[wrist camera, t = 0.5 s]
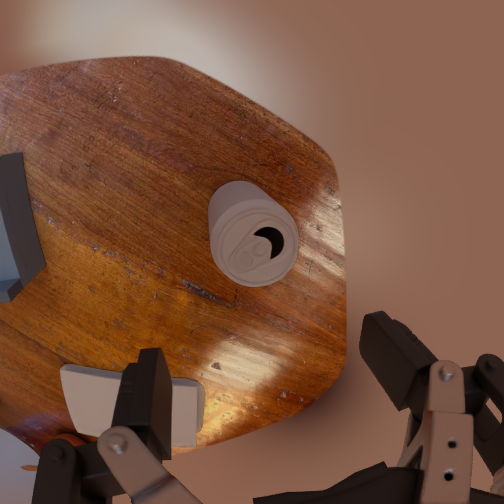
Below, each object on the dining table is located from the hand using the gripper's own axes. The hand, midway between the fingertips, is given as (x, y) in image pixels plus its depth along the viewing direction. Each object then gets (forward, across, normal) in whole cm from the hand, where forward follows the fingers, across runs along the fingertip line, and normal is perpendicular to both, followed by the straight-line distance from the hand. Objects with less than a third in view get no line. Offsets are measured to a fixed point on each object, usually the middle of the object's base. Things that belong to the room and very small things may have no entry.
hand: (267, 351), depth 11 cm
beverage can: (+22, -2, 0) cm, 22 cm away
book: (+22, +18, +28) cm, 40 cm away
